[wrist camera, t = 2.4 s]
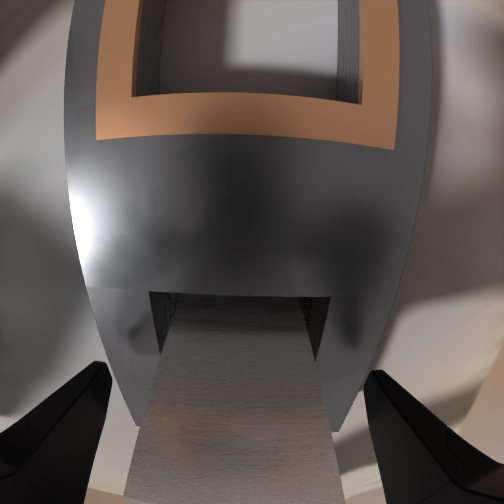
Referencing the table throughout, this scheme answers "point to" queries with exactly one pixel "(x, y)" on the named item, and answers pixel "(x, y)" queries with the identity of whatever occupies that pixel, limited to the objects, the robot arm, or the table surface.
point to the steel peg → (235, 410)
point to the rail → (245, 187)
